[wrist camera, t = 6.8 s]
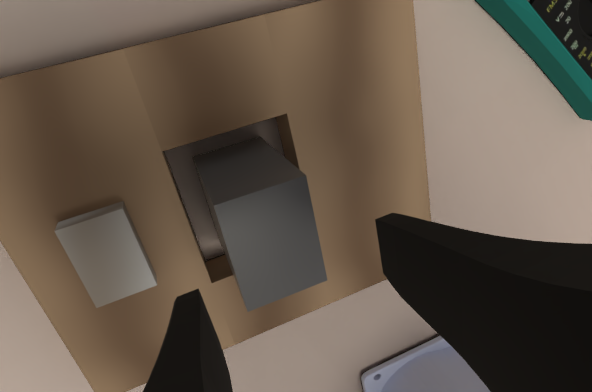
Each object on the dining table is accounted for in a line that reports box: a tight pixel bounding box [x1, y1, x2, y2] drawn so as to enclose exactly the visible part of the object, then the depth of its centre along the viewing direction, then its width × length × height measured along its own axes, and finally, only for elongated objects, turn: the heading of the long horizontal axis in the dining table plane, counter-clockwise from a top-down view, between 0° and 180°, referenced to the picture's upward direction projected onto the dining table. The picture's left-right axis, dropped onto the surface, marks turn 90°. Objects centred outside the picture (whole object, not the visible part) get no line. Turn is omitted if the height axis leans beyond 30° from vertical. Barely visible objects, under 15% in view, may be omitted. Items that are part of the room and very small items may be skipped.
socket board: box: [0, 0, 431, 392], centre depth 18 cm, size 18×14×3 cm
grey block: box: [193, 137, 327, 312], centre depth 17 cm, size 3×4×6 cm
